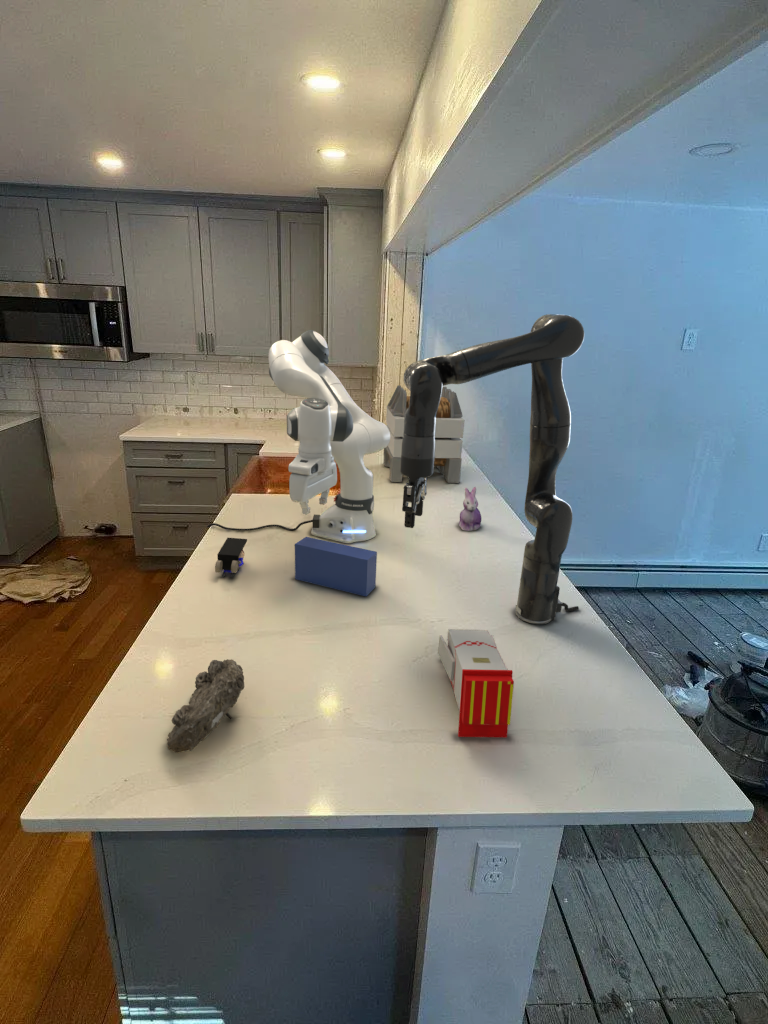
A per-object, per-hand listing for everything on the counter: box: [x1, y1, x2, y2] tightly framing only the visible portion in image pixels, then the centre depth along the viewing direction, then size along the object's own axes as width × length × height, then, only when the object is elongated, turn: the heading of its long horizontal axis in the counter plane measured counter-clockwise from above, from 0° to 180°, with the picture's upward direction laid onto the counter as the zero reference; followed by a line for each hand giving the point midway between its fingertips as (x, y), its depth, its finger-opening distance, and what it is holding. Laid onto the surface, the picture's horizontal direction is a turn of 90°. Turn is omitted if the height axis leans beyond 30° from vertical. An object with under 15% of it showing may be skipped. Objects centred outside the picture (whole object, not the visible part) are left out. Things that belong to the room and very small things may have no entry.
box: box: [294, 536, 378, 597], centre depth 160 cm, size 23×6×11 cm, turn 67°
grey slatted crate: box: [383, 384, 465, 484], centre depth 268 cm, size 34×33×41 cm
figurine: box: [458, 486, 482, 532], centre depth 206 cm, size 9×10×15 cm
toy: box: [437, 628, 515, 738], centre depth 117 cm, size 12×13×30 cm
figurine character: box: [214, 537, 248, 578], centre depth 166 cm, size 7×8×15 cm
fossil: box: [166, 658, 245, 754], centre depth 106 cm, size 22×10×15 cm
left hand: (314, 508), depth 157 cm, fingers open, 8 cm apart
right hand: (413, 521), depth 133 cm, fingers open, 8 cm apart
